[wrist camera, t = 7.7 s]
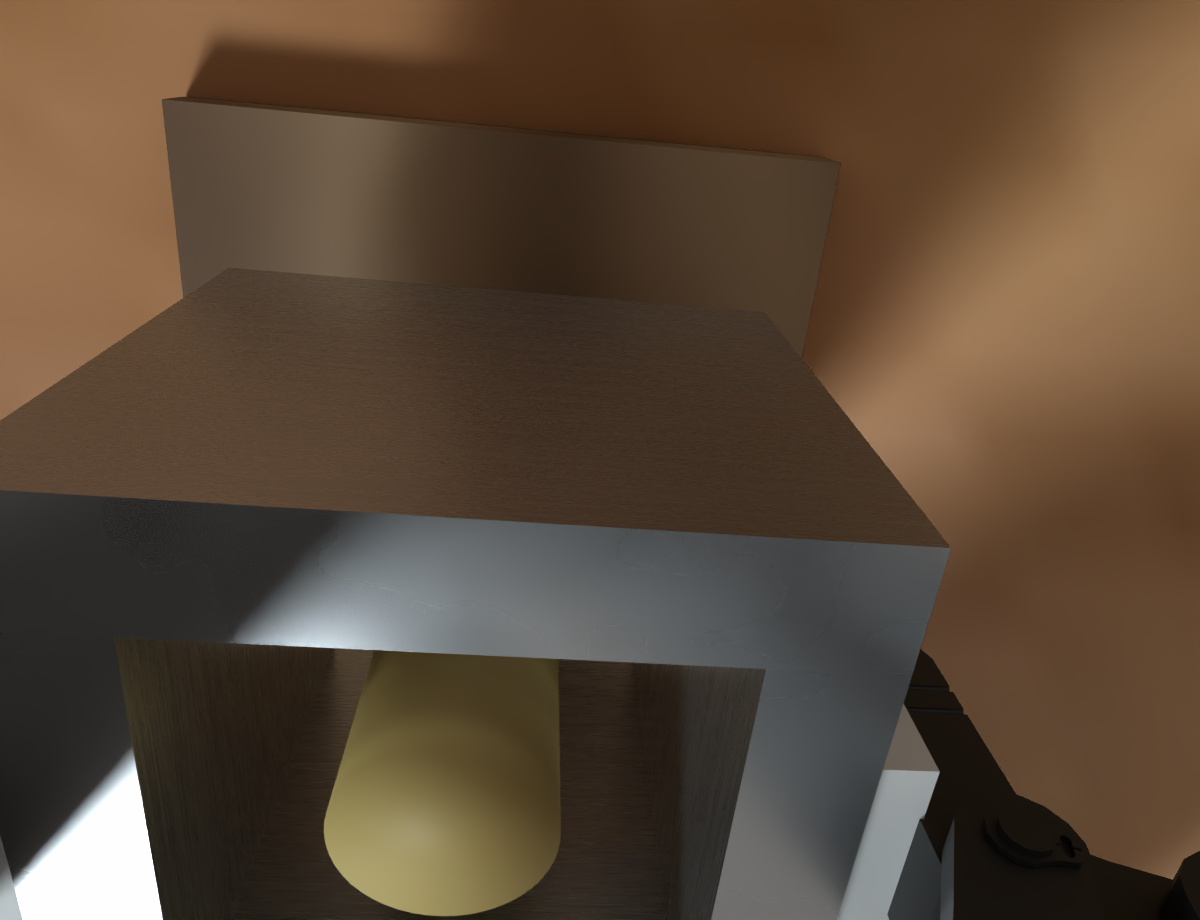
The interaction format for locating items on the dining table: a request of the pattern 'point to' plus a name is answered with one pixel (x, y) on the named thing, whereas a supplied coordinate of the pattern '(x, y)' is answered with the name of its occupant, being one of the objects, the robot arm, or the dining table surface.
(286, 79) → the dining table surface
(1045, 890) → the robot arm
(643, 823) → the hollow square steel tube
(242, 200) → the peg on base
